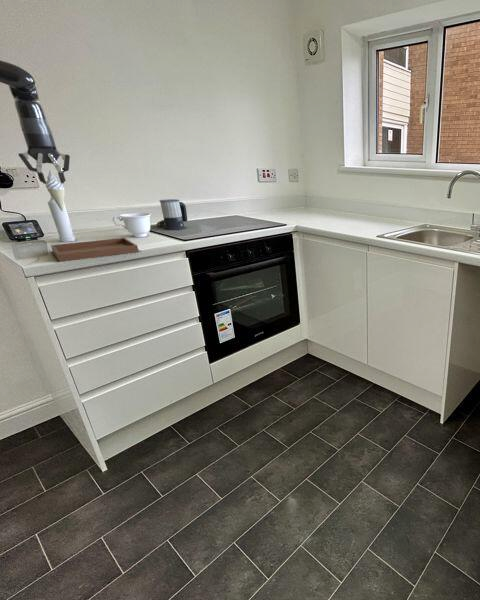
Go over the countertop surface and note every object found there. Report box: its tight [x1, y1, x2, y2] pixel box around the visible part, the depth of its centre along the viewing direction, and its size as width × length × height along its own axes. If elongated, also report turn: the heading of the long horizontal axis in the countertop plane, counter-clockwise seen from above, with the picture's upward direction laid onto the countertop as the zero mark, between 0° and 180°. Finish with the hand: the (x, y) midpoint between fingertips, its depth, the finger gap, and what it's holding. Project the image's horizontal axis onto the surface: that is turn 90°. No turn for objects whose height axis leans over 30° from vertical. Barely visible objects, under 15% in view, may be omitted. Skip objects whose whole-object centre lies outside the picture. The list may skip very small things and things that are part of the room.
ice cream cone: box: [45, 169, 66, 211], centre depth 132 cm, size 5×5×15 cm
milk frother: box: [156, 198, 188, 231], centre depth 188 cm, size 14×16×15 cm
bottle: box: [45, 180, 76, 243], centre depth 150 cm, size 5×5×25 cm
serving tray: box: [50, 237, 140, 262], centre depth 138 cm, size 24×20×3 cm
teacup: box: [112, 212, 152, 238], centre depth 165 cm, size 12×15×10 cm
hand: (53, 183), depth 131 cm, fingers closed on ice cream cone, 4 cm apart
